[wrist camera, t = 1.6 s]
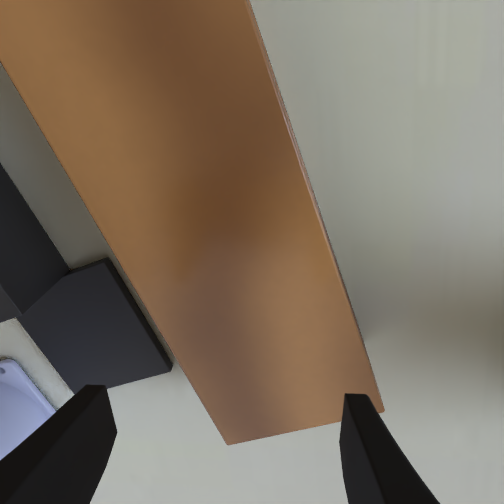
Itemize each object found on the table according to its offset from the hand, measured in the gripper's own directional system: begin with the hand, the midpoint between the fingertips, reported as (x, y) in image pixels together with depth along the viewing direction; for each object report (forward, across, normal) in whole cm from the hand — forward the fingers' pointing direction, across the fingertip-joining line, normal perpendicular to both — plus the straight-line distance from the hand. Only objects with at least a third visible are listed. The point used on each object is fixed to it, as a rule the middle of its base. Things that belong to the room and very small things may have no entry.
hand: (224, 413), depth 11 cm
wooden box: (+10, +1, -5) cm, 11 cm away
